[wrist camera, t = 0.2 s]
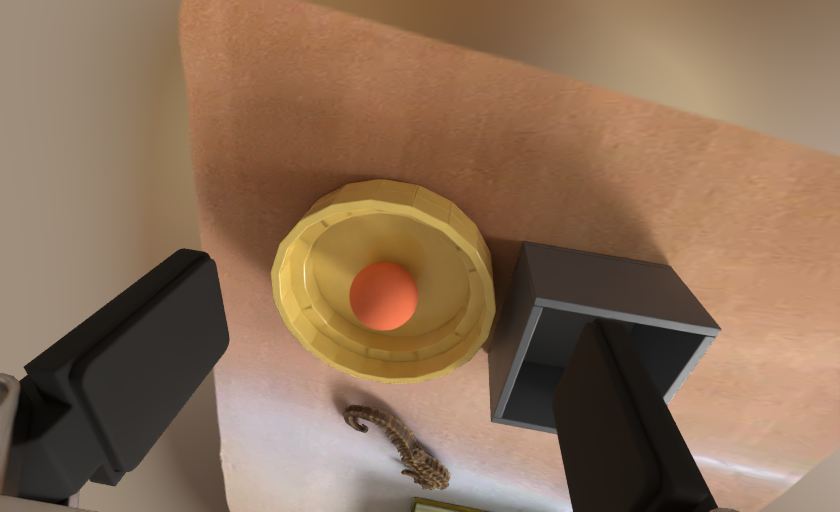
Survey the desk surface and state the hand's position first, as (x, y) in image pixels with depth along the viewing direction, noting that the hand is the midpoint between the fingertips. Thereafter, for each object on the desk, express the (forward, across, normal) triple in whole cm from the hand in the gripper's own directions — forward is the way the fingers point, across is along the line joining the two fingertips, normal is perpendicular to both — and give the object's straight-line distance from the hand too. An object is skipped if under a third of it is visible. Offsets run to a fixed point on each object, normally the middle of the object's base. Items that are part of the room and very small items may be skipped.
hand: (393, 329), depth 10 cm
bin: (+17, -12, +11) cm, 23 cm away
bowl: (+17, +2, +10) cm, 20 cm away
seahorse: (+17, 0, +31) cm, 36 cm away
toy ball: (+16, +2, +10) cm, 19 cm away
